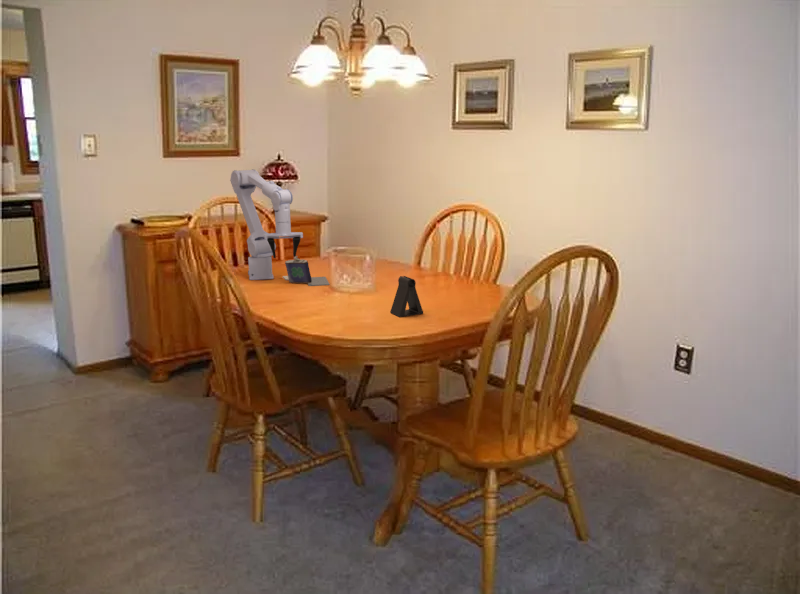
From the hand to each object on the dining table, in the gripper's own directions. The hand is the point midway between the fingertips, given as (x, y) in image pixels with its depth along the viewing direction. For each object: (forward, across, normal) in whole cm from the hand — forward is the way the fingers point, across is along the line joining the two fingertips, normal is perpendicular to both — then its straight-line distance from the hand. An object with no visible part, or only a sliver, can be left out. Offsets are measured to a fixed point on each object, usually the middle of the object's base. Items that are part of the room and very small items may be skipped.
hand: (284, 257), depth 264 cm
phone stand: (+12, +33, -55) cm, 65 cm away
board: (+10, +12, 0) cm, 16 cm away
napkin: (+10, +4, +10) cm, 15 cm away
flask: (+10, +6, -1) cm, 12 cm away
